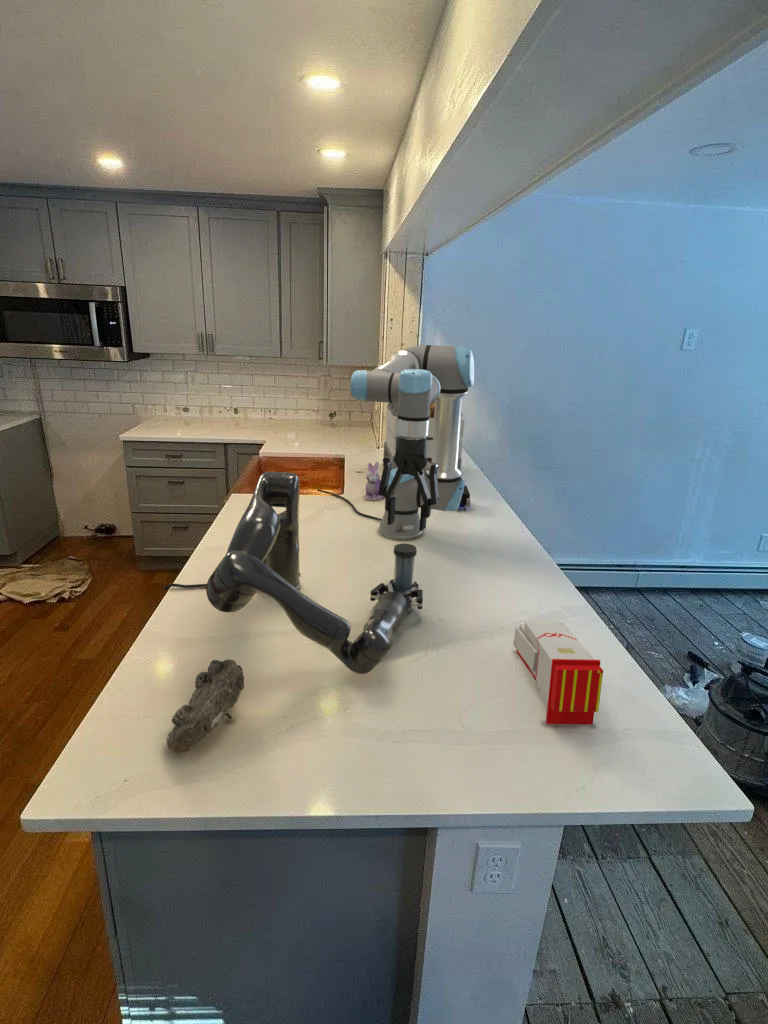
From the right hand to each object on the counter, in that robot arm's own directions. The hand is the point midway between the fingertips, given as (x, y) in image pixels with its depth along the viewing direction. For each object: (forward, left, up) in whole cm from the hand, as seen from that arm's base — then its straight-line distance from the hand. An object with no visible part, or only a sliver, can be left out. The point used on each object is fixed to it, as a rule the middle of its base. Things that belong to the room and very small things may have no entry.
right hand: (406, 525), depth 142 cm
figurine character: (-47, +75, -24) cm, 92 cm away
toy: (+43, +4, -24) cm, 49 cm away
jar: (0, 0, -24) cm, 24 cm away
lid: (0, 0, -6) cm, 6 cm away
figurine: (-75, +53, -24) cm, 95 cm away
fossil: (+9, -57, -24) cm, 63 cm away
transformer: (-92, +96, -24) cm, 135 cm away
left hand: (-2, +2, -17) cm, 18 cm away
